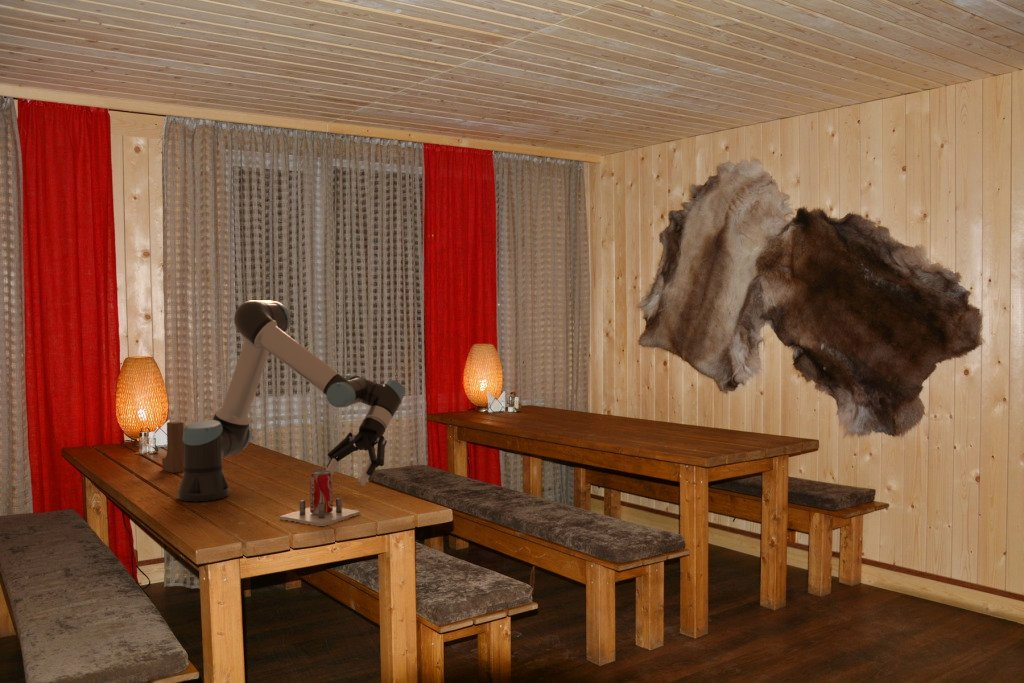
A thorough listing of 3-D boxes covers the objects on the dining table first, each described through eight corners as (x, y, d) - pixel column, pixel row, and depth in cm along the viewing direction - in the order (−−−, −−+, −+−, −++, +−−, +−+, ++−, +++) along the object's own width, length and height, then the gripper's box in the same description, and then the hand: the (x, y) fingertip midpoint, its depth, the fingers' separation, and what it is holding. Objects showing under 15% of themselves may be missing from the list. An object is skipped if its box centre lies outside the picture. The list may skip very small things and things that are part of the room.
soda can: (326, 509, 249) (325, 468, 249) (336, 513, 244) (336, 472, 244) (306, 513, 245) (305, 471, 245) (316, 517, 240) (316, 475, 240)
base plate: (279, 519, 242) (279, 516, 242) (318, 507, 256) (318, 504, 256) (322, 527, 234) (322, 523, 234) (360, 514, 248) (360, 510, 248)
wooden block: (161, 470, 312) (161, 421, 312) (174, 468, 316) (173, 419, 315) (172, 473, 306) (171, 423, 305) (184, 471, 309) (184, 422, 308)
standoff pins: (298, 514, 243) (298, 501, 243) (319, 508, 251) (319, 494, 251) (321, 518, 239) (321, 504, 239) (342, 512, 246) (342, 498, 246)
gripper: (412, 434, 261) (382, 492, 249) (349, 428, 274) (317, 483, 261) (402, 419, 256) (370, 478, 244) (338, 413, 269) (305, 469, 257)
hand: (343, 481), depth 253 cm, fingers open, 13 cm apart
